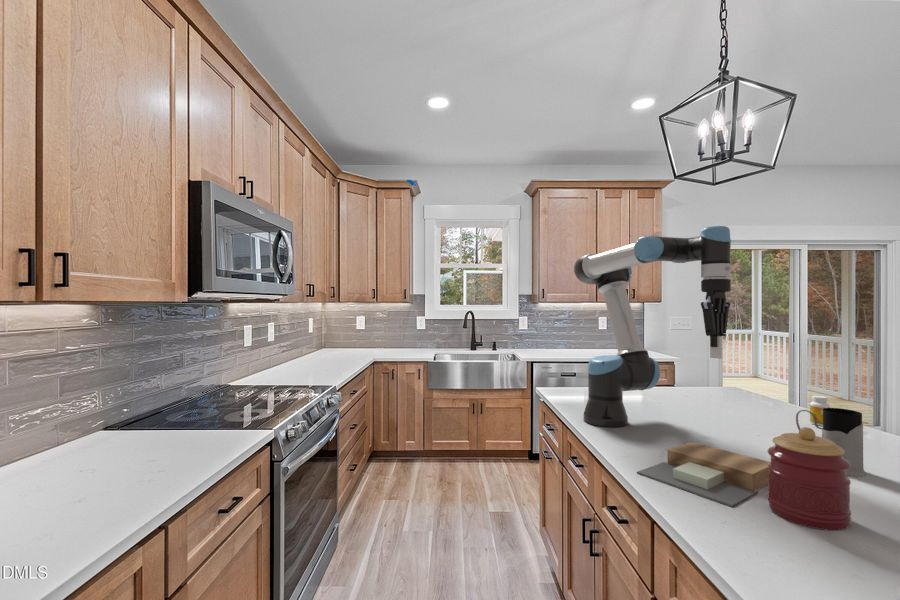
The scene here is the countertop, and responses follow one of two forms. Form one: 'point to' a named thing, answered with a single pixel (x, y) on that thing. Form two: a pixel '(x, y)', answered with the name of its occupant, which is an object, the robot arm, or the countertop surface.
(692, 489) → the mat
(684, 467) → the coaster
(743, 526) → the countertop surface
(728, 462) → the plate
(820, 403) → the supplement bottle
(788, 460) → the canister
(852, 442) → the glass holder
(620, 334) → the robot arm
